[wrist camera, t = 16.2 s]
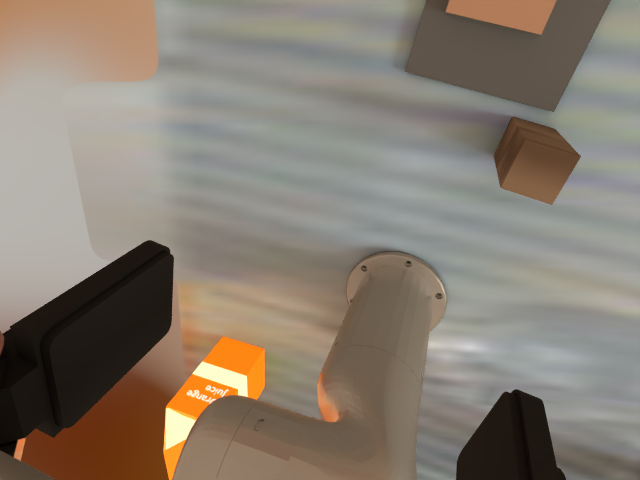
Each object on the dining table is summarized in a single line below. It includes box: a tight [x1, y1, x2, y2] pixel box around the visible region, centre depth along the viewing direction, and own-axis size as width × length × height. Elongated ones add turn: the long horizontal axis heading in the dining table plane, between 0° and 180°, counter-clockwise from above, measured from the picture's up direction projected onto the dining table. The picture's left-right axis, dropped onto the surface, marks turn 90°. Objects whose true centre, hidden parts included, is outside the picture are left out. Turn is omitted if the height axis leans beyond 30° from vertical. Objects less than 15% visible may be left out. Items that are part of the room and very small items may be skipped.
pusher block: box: [494, 117, 581, 205], centre depth 34 cm, size 4×4×10 cm
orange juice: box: [164, 337, 264, 480], centre depth 58 cm, size 8×9×20 cm
